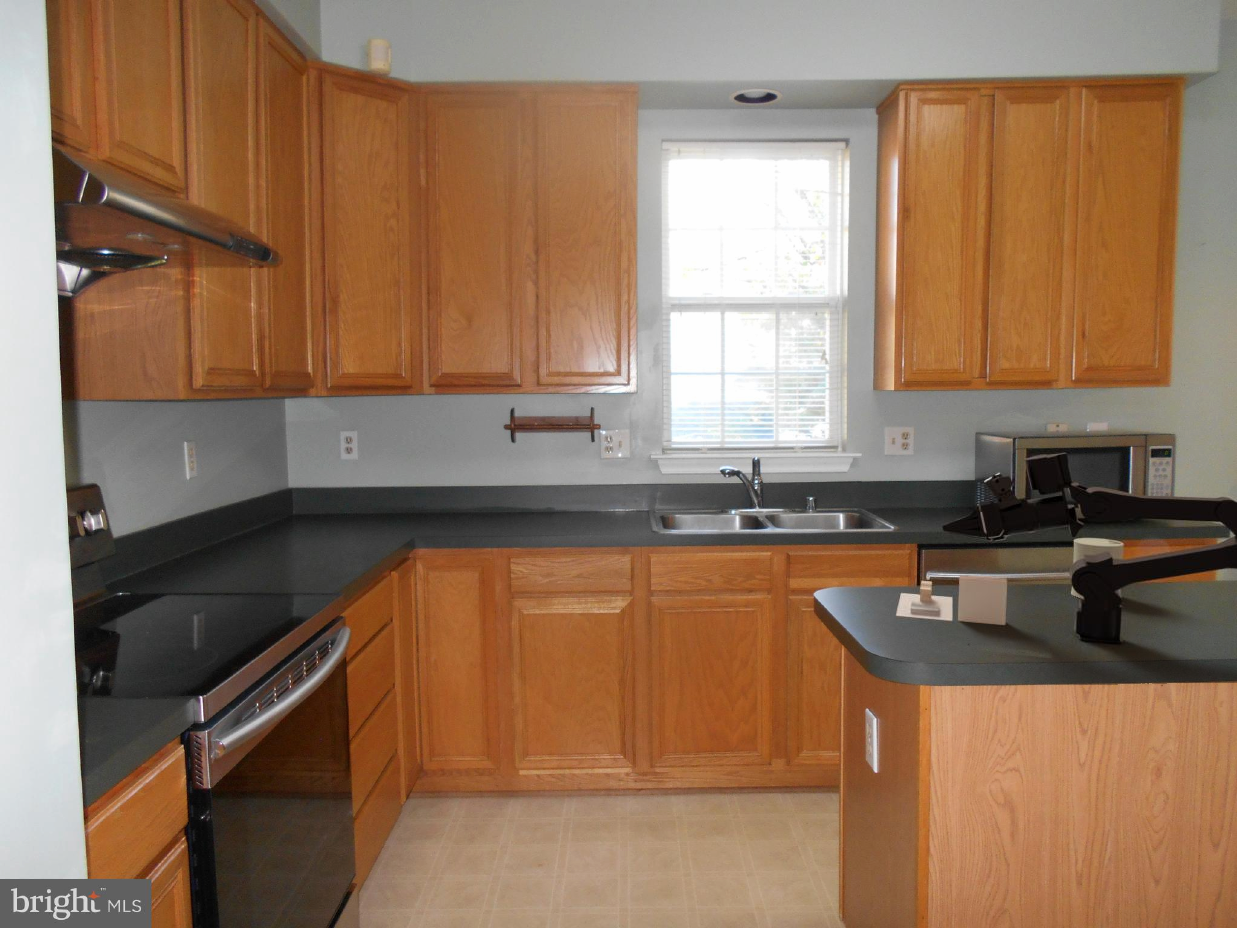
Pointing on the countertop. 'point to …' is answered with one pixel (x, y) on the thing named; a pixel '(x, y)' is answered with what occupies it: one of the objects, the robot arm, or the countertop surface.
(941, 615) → the board
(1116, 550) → the can
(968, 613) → the tile
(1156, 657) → the countertop surface
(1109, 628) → the robot arm
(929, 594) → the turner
